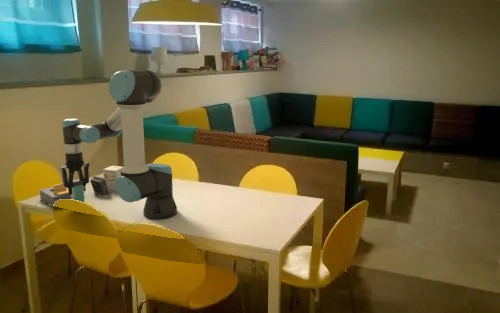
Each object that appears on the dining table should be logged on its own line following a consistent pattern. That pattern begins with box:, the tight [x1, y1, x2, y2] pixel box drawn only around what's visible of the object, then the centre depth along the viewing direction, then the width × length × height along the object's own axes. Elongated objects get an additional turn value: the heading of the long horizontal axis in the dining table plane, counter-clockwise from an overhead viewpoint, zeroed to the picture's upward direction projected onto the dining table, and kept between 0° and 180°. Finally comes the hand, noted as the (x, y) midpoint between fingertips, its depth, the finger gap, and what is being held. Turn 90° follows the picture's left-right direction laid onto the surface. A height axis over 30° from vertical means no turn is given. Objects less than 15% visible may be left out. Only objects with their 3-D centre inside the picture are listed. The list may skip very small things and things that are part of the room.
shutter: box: [53, 182, 69, 196], centre depth 209 cm, size 6×6×4 cm
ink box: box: [102, 165, 123, 192], centre depth 232 cm, size 9×8×12 cm
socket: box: [39, 186, 71, 207], centre depth 213 cm, size 16×12×5 cm
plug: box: [72, 178, 85, 203], centre depth 207 cm, size 4×4×12 cm
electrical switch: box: [89, 175, 111, 196], centre depth 224 cm, size 9×5×9 cm, turn 57°
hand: (77, 199), depth 208 cm, fingers closed on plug, 4 cm apart
